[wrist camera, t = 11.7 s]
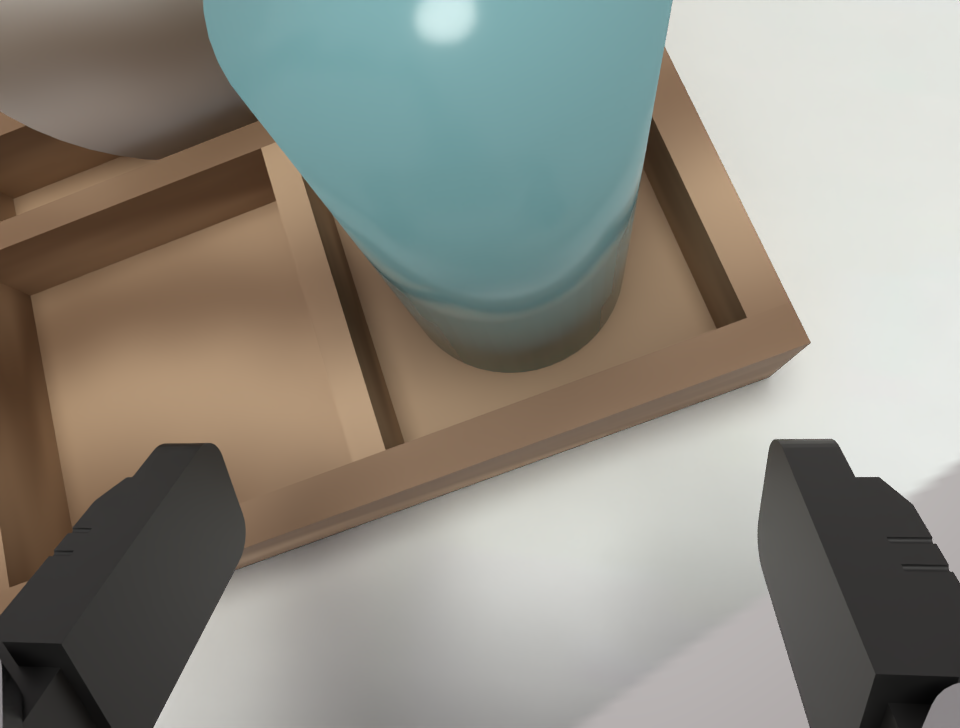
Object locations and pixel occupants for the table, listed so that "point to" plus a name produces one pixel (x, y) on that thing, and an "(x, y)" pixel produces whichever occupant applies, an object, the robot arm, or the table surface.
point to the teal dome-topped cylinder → (465, 150)
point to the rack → (295, 301)
